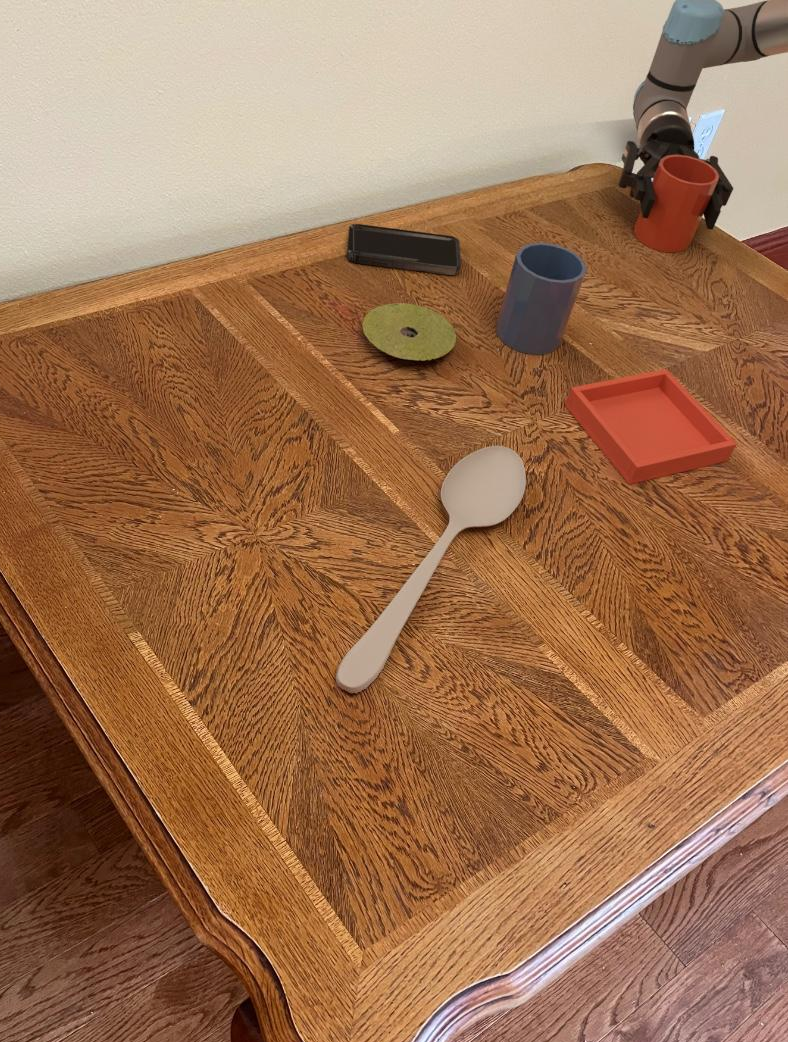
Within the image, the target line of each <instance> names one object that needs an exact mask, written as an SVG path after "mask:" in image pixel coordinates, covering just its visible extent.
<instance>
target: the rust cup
mask: <svg viewBox="0 0 788 1042" xmlns="http://www.w3.org/2000/svg"><path fill="white" fill-rule="evenodd" d="M700 159H701V158H699V159H697V158H693V157H690V156H684V155H668V156H666V157H664V158H662V159H661V160H660V163H659V165H658V168H657V170H656V173H655V175H654V178H652V185H653V190H654V196H655V202H654V204H653V207H652V209H651V212H650V214H649V217H648V218H642V211H641V210H640V212H639V215H638V217H637V220H636V222H635V225H634V227H633V234H634V236H635V238H636V239H637V241H639V242H640V243H641V244H643V245H644V246H646V247H648V248H651V249H652V250H655V251H658V252H662V253H663V252H664V253H672V254H673V253H675V254H676V253H680V252H684V251H686V250H687V249H688V248H689V247H690V245H691V244H692V241H693V239H694V237H695V234H696V232H697V229H698V227H699V225H700V223H701V220H702V218H703V217H704V212H705V209H706V207H707V205H708V202H709V200H710V198H711V196H712V193H713V191H714V189H715V187H716V184H717V182H718V179H719V174H718V172H717V170H716V169H715V168H713V167H712V166H711V165H710V164H708V163H706V162H704V161H702V160H700Z"/></svg>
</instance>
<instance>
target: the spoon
mask: <svg viewBox="0 0 788 1042" xmlns="http://www.w3.org/2000/svg"><path fill="white" fill-rule="evenodd" d="M526 475H527V473H526V469H525V465H524V462H523V460H522V458H521V457H520V455H519V454H518V452H516V450H515V451H514V450H513V449H512V448H509V447H507V446H504V445H492V446H486V447H483V448H480V449H478V450H475V451H473V452H471V453H469V454H468V455H466V456H464V457H463V458H461V459H460V460H459V461H458V462H456V463H455V464H454V465H453V466H452V467H451V469H450V470H449V471H448V473H447V474H446V476H445V478H444V479H443V482H442V485H441V488H440V499H441V503H442V505H443V507H444V508H445V511H446V512H447V514H448V516H449V521H448V525H447V526H446V528H445V530H444V532H443V533H442V534H441V536H440V537H439V539H438V540H437V541H436V543H435V544H434V545H433V547H432V548H431V550H430V551H429V552H428V553H427V554H426V556H425V557H424V559H422V561H421V562H420V563H419V565H418V566H417V567H416V569H414V571H413V573H411V575H410V576H409V578H408V579H406V581H405V583H404V584H403V585H402V587H401V588H400V589H399V591H398V592H397V593H396V595H395V596H394V597H393V598H392V600H391V601H390V602H389V604H388V605H387V606H386V607H385V609H384V610H383V611H382V613H381V614H380V615H379V616H378V618H377V619H376V620H375V622H374V623H373V624H372V625H371V626H370V627H369V628H368V630H367V631H366V632H365V633H364V634H363V635H362V636H361V637H360V638H359V639H358V640H357V641H356V643H354V645H352V647H351V648H350V649H349V650H348V651H347V652H346V654H344V656H343V658H342V659H341V661H340V663H339V665H338V667H337V670H336V674H335V683H336V685H337V686H338V687H339V688H340V689H341V690H343V691H344V690H345V691H344V692H346V691H347V693H349V694H353V693H355V694H359V693H358V692H360V693H362V692H363V691H362V690H364V689H365V690H367V689H368V688H369V687H370V686H371V685H372V684H373V683H374V682H375V681H376V680H377V679H378V677H379V676H380V675H379V673H380V672H381V673H382V671H383V670H384V668H385V666H386V664H387V662H388V660H387V659H389V658H390V655H391V653H392V651H393V648H394V646H395V644H396V643H397V641H398V638H399V636H400V634H401V632H402V630H403V629H404V627H405V625H406V623H407V621H408V620H409V618H410V616H411V614H412V613H413V611H414V609H415V607H416V605H417V603H418V602H419V601H420V600H419V599H420V598H421V597H422V595H423V593H424V591H425V589H426V588H427V586H428V584H429V582H430V581H431V579H432V577H433V575H434V573H435V571H436V570H437V568H438V566H439V564H440V563H441V561H442V559H443V557H444V555H445V554H446V552H447V550H448V548H449V547H450V545H451V543H452V542H453V541H454V539H455V538H456V537H457V536H458V535H459V534H460V533H461V532H462V531H463V530H466V529H468V528H486V527H493V526H496V525H499V524H500V523H503V522H504V521H506V520H507V519H508V518H509V517H510V516H511V515H512V514H513V513H514V511H516V509H517V507H518V506H519V505H520V503H521V501H522V500H523V497H524V494H525V491H526V484H527V476H526ZM386 661H387V662H386ZM385 663H386V664H385ZM384 665H385V666H384ZM382 669H383V670H382ZM381 670H382V671H381ZM381 673H380V674H381ZM378 675H379V676H378ZM377 676H378V677H377ZM376 678H377V679H376ZM375 679H376V680H375ZM374 680H375V681H374ZM373 681H374V682H373ZM372 682H373V683H372ZM371 683H372V684H371ZM370 684H371V685H370ZM369 685H370V686H369ZM368 686H369V687H368ZM367 687H368V688H367ZM365 690H364V691H365ZM361 691H362V692H361Z"/></svg>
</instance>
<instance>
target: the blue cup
mask: <svg viewBox="0 0 788 1042" xmlns="http://www.w3.org/2000/svg"><path fill="white" fill-rule="evenodd" d="M587 269H588V268H587V265H586V263H585V261H584V260H583V258H582V257H581V256H580V255H579V254H577V253H575V251H572V250H571V249H569V248H567V247H565V246H561V245H558V244H555V243H549V242H533V243H527V244H526V245H523V246H521V247H520V248H519V249H518V251H517V252H516V255H515V257H514V261H513V264H512V268H511V271H510V275H509V278H508V282H507V286H506V288H505V293H504V296H503V299H502V302H501V307H500V310H499V313H498V317H497V321H496V325H495V326H496V327H495V332H496V335H497V337H498V338H499V339H500V341H501V342H502V343H504V344H505V345H506V346H507V347H509V348H511V349H513V350H514V351H517V352H519V353H523V354H527V355H537V356H538V355H541V356H542V355H546V354H547V355H548V354H550V353H552V352H554V351H557V349H558V348H559V347H560V345H561V343H562V339H563V338H564V335H565V333H566V329H567V326H568V324H569V321H570V318H571V315H572V313H573V309H574V307H575V304H576V301H577V298H578V295H579V293H580V290H581V286H582V284H583V282H584V278H585V276H586V274H587Z"/></svg>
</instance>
